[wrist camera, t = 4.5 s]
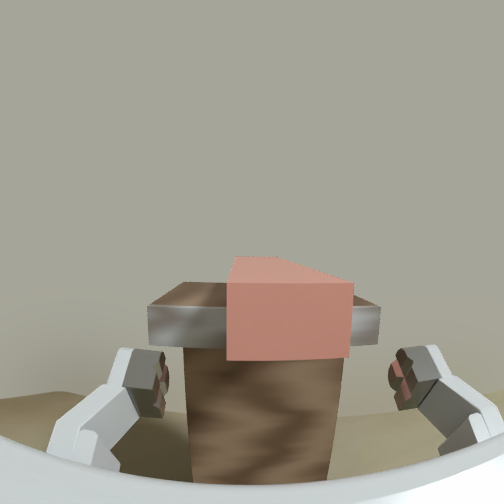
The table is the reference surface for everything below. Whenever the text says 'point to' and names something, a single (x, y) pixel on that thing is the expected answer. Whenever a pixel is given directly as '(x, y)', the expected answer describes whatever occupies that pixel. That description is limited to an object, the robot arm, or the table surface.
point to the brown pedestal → (252, 394)
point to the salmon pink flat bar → (286, 312)
